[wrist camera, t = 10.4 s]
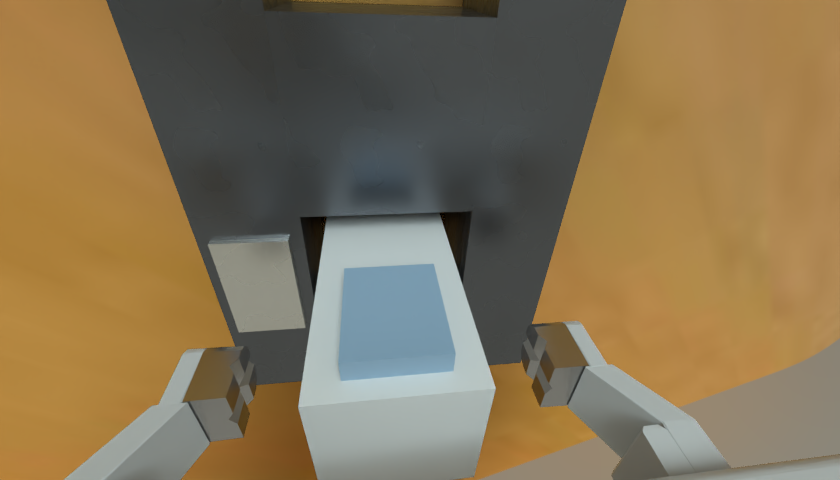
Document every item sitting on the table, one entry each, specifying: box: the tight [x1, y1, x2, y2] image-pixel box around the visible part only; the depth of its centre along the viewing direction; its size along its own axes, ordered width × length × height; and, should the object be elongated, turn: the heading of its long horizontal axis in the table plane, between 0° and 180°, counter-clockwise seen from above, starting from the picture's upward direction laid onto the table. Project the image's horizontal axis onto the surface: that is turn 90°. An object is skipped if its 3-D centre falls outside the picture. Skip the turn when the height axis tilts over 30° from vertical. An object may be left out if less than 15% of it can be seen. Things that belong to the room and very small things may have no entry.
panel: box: [106, 0, 626, 385], centre depth 12 cm, size 12×22×4 cm, turn 178°
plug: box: [298, 212, 496, 480], centre depth 13 cm, size 4×5×10 cm
